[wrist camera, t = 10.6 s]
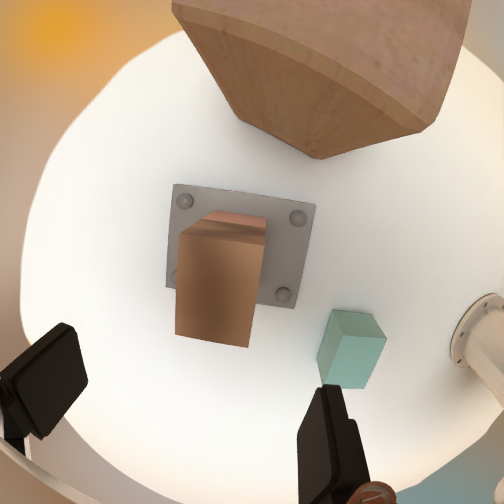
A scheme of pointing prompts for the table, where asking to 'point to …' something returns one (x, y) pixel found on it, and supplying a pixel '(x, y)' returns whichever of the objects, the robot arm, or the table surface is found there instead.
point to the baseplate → (276, 236)
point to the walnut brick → (218, 281)
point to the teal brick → (350, 349)
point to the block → (329, 65)
